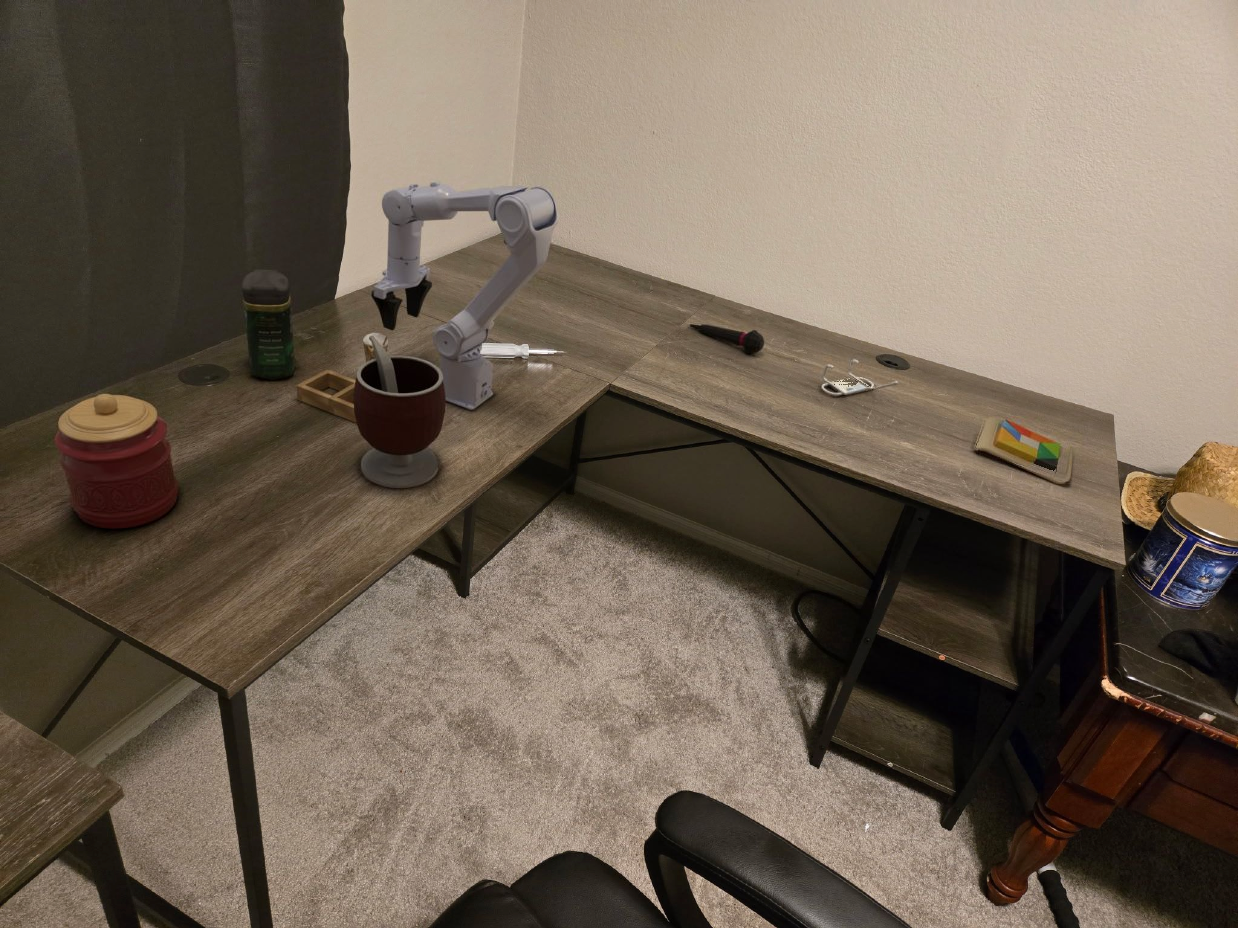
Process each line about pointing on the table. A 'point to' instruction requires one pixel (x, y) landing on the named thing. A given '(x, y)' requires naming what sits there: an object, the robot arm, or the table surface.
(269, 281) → the coffee jar
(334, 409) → the rack
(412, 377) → the mate gourd
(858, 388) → the wall mount rack
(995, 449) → the wooden puzzle
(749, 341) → the microphone
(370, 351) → the milkshake
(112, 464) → the kitchen canister
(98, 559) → the table surface
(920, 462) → the table surface
